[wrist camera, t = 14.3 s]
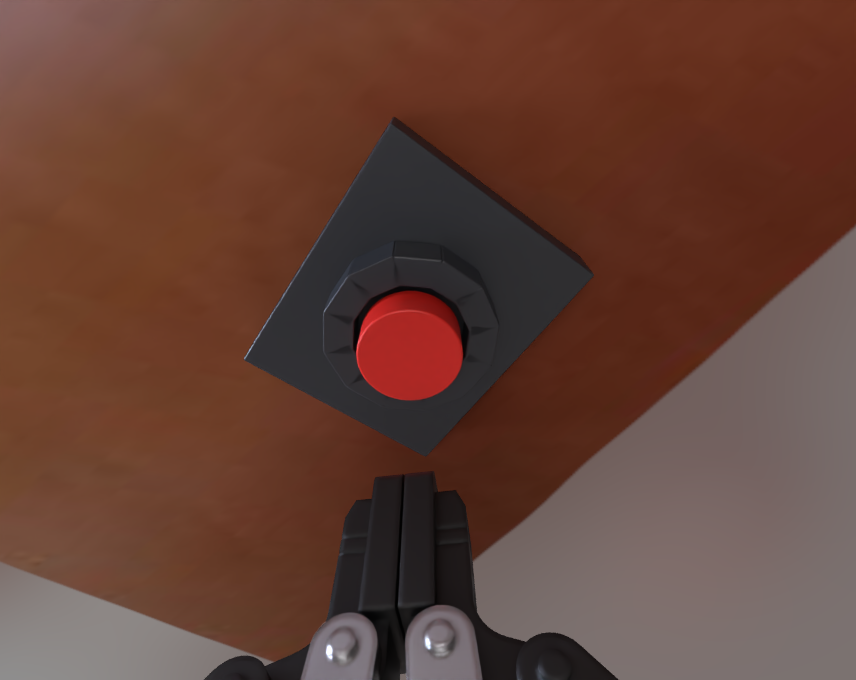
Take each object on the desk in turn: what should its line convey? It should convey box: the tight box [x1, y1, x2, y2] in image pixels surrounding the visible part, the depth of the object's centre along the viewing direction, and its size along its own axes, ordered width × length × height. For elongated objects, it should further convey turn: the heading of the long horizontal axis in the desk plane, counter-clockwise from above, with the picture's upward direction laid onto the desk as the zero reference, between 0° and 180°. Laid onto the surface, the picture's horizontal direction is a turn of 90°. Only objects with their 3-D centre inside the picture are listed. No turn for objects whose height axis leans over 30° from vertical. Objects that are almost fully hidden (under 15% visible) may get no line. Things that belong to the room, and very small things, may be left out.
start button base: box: [244, 117, 594, 456], centre depth 22 cm, size 12×10×4 cm
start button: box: [356, 291, 463, 400], centre depth 20 cm, size 4×4×2 cm
